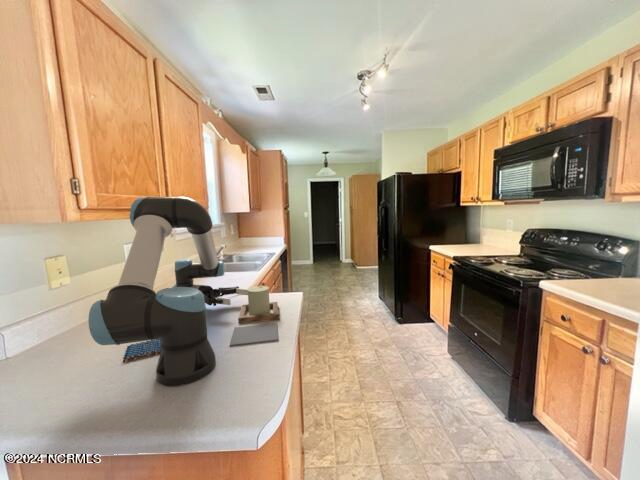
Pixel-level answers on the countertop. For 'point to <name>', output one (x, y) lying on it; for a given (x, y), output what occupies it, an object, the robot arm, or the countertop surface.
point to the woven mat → (142, 350)
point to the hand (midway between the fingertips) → (239, 296)
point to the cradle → (258, 317)
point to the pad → (254, 334)
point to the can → (258, 300)
